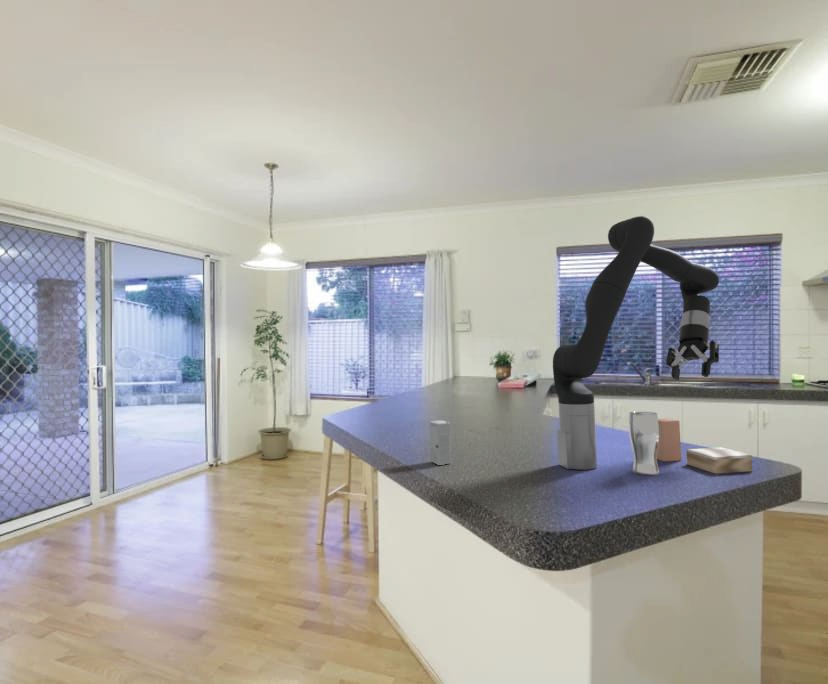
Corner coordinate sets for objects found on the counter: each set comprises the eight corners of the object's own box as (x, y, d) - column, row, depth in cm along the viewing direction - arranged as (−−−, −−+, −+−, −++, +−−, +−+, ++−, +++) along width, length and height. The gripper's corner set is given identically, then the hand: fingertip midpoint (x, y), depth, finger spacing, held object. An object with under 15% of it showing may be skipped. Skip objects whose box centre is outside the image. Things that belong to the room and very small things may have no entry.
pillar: (664, 461, 130) (662, 421, 130) (653, 457, 135) (651, 419, 135) (681, 460, 130) (679, 420, 130) (669, 456, 135) (667, 418, 135)
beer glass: (660, 470, 121) (657, 411, 121) (661, 476, 114) (658, 415, 115) (630, 468, 124) (627, 411, 124) (630, 474, 117) (627, 414, 118)
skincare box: (429, 462, 139) (427, 421, 139) (442, 460, 140) (441, 419, 141) (438, 466, 133) (436, 423, 133) (452, 464, 135) (450, 422, 135)
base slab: (715, 473, 116) (714, 457, 116) (687, 464, 125) (686, 449, 126) (752, 471, 117) (751, 454, 117) (721, 462, 126) (721, 447, 127)
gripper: (664, 327, 147) (659, 375, 141) (711, 318, 135) (707, 369, 129) (679, 337, 150) (674, 384, 144) (726, 329, 137) (722, 380, 132)
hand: (689, 377), depth 137 cm, fingers open, 8 cm apart
